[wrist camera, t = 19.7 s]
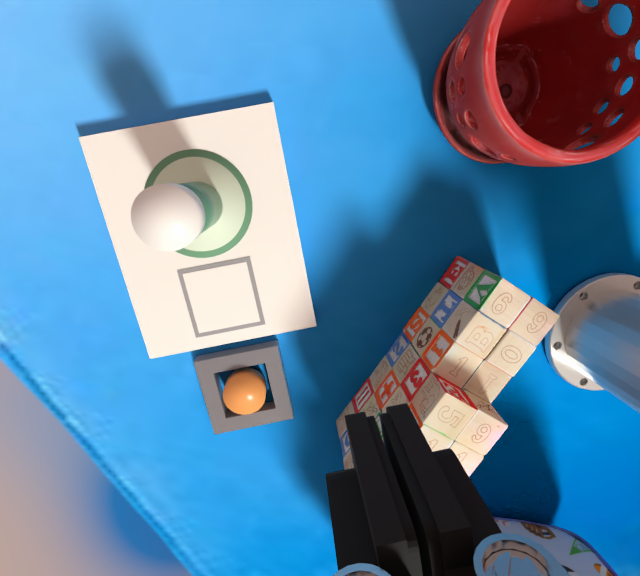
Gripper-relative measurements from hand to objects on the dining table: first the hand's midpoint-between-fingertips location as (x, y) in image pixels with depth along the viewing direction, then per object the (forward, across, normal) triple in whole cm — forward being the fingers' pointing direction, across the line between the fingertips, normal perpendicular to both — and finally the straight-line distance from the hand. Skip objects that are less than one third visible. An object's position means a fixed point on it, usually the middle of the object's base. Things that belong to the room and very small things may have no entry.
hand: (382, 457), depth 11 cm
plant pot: (+29, -18, -11) cm, 36 cm away
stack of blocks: (+30, -8, +13) cm, 33 cm away
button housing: (+29, +9, +12) cm, 33 cm away
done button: (+29, +9, +12) cm, 32 cm away
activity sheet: (+29, +9, -3) cm, 31 cm away
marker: (+28, +9, -6) cm, 30 cm away
